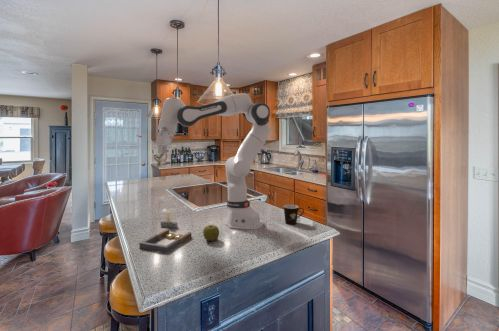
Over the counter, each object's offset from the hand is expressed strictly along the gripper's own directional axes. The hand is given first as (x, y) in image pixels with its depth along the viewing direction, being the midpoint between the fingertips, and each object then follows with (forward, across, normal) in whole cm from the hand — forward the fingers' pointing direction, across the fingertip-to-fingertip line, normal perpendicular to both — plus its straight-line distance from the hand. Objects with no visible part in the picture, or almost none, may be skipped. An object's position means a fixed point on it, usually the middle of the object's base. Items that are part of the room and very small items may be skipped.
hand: (161, 153), depth 139 cm
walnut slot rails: (+40, -11, -17) cm, 44 cm away
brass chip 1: (+40, -9, -15) cm, 44 cm away
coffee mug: (+24, +4, -81) cm, 84 cm away
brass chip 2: (+39, -11, -19) cm, 45 cm away
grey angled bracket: (+41, -19, -12) cm, 47 cm away
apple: (+36, -15, -35) cm, 52 cm away
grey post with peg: (+40, +7, -11) cm, 43 cm away
